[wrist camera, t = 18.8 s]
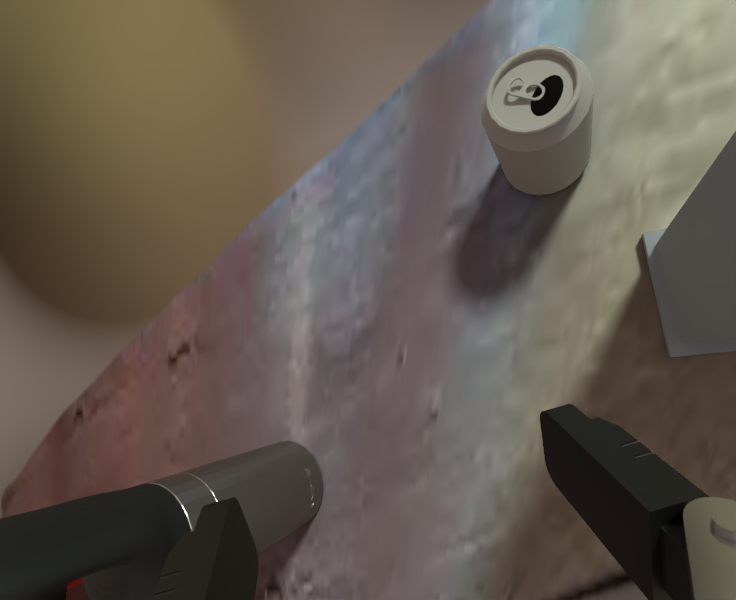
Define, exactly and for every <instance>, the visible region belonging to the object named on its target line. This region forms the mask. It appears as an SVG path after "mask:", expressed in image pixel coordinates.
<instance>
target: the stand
mask: <svg viewBox="0 0 736 600" xmlns="http://www.w3.org/2000/svg"><path fill="white" fill-rule="evenodd" d="M642 241H643V245H644V249H645V254H646V258H647V263H648V267H649V272H650V276H651V280H652V285H653V289H654V294H655V298H656V302H657V307H658V311H659V316H660V320H661V325H662V329H663V333H664V338H665V342H666V347H667V351H668V356H669V357H680V356H690V355H701V354H712V353H722V352H733V351H736V131H735V133H734V134H733V136H732V137H731V138H730V140H729V141H728V143H727V144H726V145H725V147H724V148H723V150H722V151H721V153H720V154H719V155H718V157H717V158H716V160H715V161H714V163H713V164H712V165H711V167H710V168H709V170H708V171H707V172H706V174H705V175H704V177H703V178H702V180H701V181H700V182H699V184H698V185H697V187H696V188H695V189H694V191H693V192H692V194H691V195H690V197H689V198H688V199H687V201H686V202H685V204H684V205H683V207H682V208H681V209H680V211H679V212H678V214H677V215H676V216H675V218H674V219H673V221H672V222H671V224H670V225H669V226H668V228H667V229H662V230H657V231H652V232H647V233H643V234H642Z"/></svg>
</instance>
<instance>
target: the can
mask: <svg viewBox="0 0 736 600" xmlns="http://www.w3.org/2000/svg"><path fill="white" fill-rule="evenodd" d="M592 115H593V79H592V77H591V75H590V73H589V71H588V69H587V67H586V65H585V64H584V63H583V62H582V61H580V60H579V59H578V58H577V57H576V56H574V55H572V54H571V53H570V52H568V51H567V50H565V49H562V48H559V47H556V46H535V47H532V48H528V49H525V50H522V51H520V52H519V53H517V54H515V55H514V56H512V57H510V58H509V59H508V60H507V61H506V62H504V63H503V64H502V65H501V66H500V67H499V68H498V69H497V71H496V72H495V74H494V76H493V77H492V79H491V80H490V82H489V86H488V88H487V90H486V92H485V95H484V98H483V102H482V105H481V120H482V123H483V126H484V128H485V131H486V133H487V135H488V138H489V140H490V142H491V145H492V147H493V149H494V151H495V154H496V156H497V158H498V161H499V163H500V165H501V167H502V170H503V172H504V174H505V177H506V179H507V180H508V181H509V182H510V183H511V184H512V185H513V187H514V188H516V189H518V190H520V191H522V192H524V193H526V194H533V195H545V194H552V193H555V192H557V191H560V190H562V189H564V188H566V187H568V186H569V185H570V184H572V183H573V182H574V181H575V180H577V179H578V178H579V176H580V175H581V174H582V172H583V171H584V169H585V168H586V166H587V164H588V160H589V157H590V154H591V136H592Z"/></svg>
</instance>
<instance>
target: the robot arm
mask: <svg viewBox="0 0 736 600" xmlns="http://www.w3.org/2000/svg"><path fill="white" fill-rule="evenodd" d="M540 423H541V431H542V439H543V447H544V455H545V462H546V466H547V469H548V472H549V474H550V476H551V478H552V480H553V482H554V483H555V485H556V486H557V488H558V489H559V490H560V491H561V493H562V494H563V495H564V496H565V497H566V499H567V500H568V501H569V502H570V504H571V505H572V506H573V507H574V509H575V510H576V511H577V512H578V513H579V515H580V516H581V517H582V518H583V520H584V521H585V522H586V523H587V525H588V526H589V527H590V528H591V529H592V531H593V532H594V533H595V534H596V536H597V537H598V538H599V539H600V541H601V542H602V543H603V544H604V546H605V547H606V548H607V549H608V550H609V552H610V553H611V554H612V555H613V557H614V558H615V559H616V560H617V562H618V563H619V564H620V565H621V566H622V568H623V569H624V570H625V571H626V573H627V574H628V575H629V576H630V578H631V579H632V580H633V581H634V582H635V584H636V585H637V586H638V587H639V589H640V590H641V591H642V592H643V593H644V595H645V596H646V597H647V598H648V600H736V501H735V500H731V499H726V498H720V497H709V496H708V495H706V494H705V493H704V492H703V491H701V490H700V489H699V488H698V487H696V486H695V485H694V484H692V483H691V482H690V481H689V480H687V479H686V478H685V477H684V476H682V475H681V474H680V473H678V472H677V471H676V470H675V469H673V468H672V467H671V466H670V465H668V464H667V463H666V462H664V461H663V460H662V459H661V458H659V457H658V456H657V455H655V454H652V453H651V451H650V450H649V449H648V448H647V447H645V446H644V445H643V444H641V443H640V442H639V443H638V442H637V440H636V439H635V438H634V437H633V436H631V435H630V434H629V433H627V432H626V431H625V430H624V429H622V428H621V427H620V426H617V425H615V424H612V423H610V422H608V421H605V420H603V419H600V418H594V419H591V420H590V419H589V418H588V417H587V416H585V415H584V414H583V413H582V412H581V411H579V410H578V409H577V408H576V407H575V406H573V405H571V404H567V405H564V406H560V407H556V408H553V409H549V410H546V411H542V412H541V414H540ZM322 494H323V483H322V477H321V473H320V470H319V467H318V465H317V463H316V461H315V459H314V458H313V457H312V455H311V454H310V453H309V452H308V451H307V450H306V449H305V448H304V447H302V446H300V445H299V444H297V443H293V442H289V441H287V442H279V443H276V444H273V445H269V446H266V447H263V448H259V449H255V450H252V451H249V452H245V453H242V454H239V455H236V456H232V457H229V458H226V459H223V460H219V461H216V462H213V463H209V464H206V465H203V466H200V467H196V468H193V469H190V470H186V471H183V472H180V473H177V474H174V475H171V476H167V477H164V478H161V479H158V480H154V481H151V482H148V483H144V484H141V485H138V486H135V487H131V488H128V489H123V490H118V491H112V492H107V493H101V494H96V495H92V496H88V497H83V498H79V499H76V500H72V501H68V502H65V503H61V504H58V505H54V506H50V507H46V508H42V509H38V510H34V511H30V512H26V513H22V514H18V515H14V516H9V517H5V518H1V519H0V600H65V599H66V590H67V585H68V584H70V583H71V582H73V581H75V580H78V579H80V578H82V581H83V584H84V587H85V590H86V592H87V594H88V596H89V598H90V600H254V597H255V590H256V583H257V575H258V555H257V554H258V553H260V552H262V551H263V550H265V549H266V548H268V547H269V546H271V545H273V544H274V543H276V542H277V541H279V540H281V539H282V538H284V537H286V536H287V535H289V534H290V533H292V532H294V531H295V530H297V529H298V528H300V527H301V526H303V525H305V524H306V523H308V522H309V521H310V520H311V519H312V518H313V517H314V516H315V514H316V513H317V511H318V509H319V506H320V504H321V500H322Z"/></svg>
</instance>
